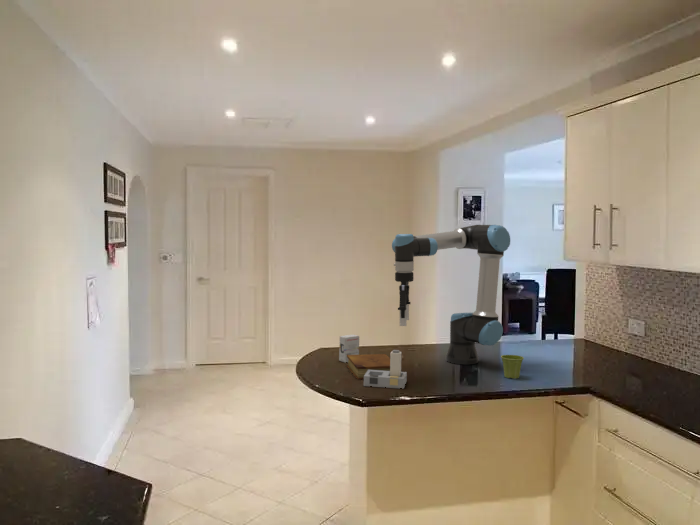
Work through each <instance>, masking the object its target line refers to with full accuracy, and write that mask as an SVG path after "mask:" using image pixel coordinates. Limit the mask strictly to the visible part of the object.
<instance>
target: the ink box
mask: <svg viewBox="0 0 700 525" xmlns="http://www.w3.org/2000/svg"><path fill="white" fill-rule="evenodd" d="M338 347H339V351H338V353H339V354H338V361H340V362H342V363H344V364H346V362H347V363H348V358H347V355H360V335H358V334H357V335H356V334H346V335H340V336H339V346H338Z"/></svg>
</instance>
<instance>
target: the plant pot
mask: <svg viewBox="0 0 700 525" xmlns="http://www.w3.org/2000/svg"><path fill="white" fill-rule="evenodd" d="M500 357H501V361H502V367H503V375H504V378H506V379H509V378H511V379H515V380H516V379H519V378H520V374H521V368H522V363H523V360H524V359H525V358H524V357H523V356H521V355H514V354H502V355H501V356H500Z"/></svg>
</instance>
